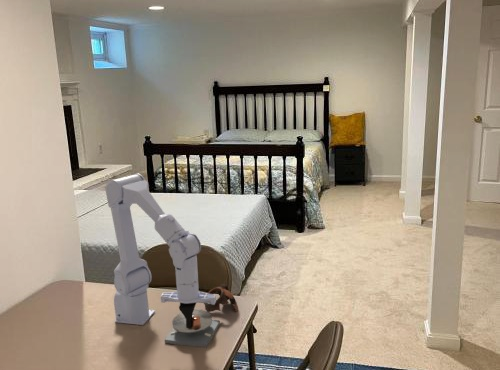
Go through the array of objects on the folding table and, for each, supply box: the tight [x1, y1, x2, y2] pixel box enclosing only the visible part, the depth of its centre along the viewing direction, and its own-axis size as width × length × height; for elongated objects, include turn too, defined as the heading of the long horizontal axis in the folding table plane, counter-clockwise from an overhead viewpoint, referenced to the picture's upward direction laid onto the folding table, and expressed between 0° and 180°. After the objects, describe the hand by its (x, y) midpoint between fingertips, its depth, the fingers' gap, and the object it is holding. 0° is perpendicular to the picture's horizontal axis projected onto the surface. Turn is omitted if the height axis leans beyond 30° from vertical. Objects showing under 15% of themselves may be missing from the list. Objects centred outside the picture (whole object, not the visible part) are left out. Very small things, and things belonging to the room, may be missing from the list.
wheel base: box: [164, 319, 221, 348], centre depth 128 cm, size 12×12×1 cm
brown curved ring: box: [203, 283, 239, 313], centre depth 140 cm, size 12×10×8 cm
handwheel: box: [172, 309, 213, 334], centre depth 127 cm, size 11×11×6 cm
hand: (190, 326), depth 122 cm, fingers closed, pressing on handwheel
